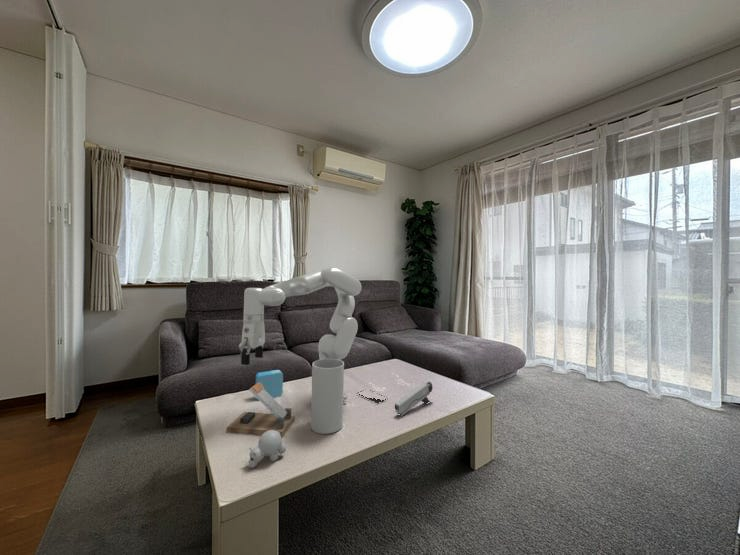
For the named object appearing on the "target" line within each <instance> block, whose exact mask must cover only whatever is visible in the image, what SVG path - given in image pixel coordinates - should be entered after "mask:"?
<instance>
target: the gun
mask: <svg viewBox="0 0 740 555" xmlns="http://www.w3.org/2000/svg"><path fill="white" fill-rule="evenodd" d="M432 391H433V384H432V382H431V381H428V382H423V383H421V384H420V385H419V386H417V387H416V388H415V389H413V390H412V391H410V392H409V393H408V394H407V395H405V396H404V397H402V398H401V399H400V400H398V401H397V402H395V403H394V410H395V412H396V413H397V415H398V414H400V415H402V416H404V415H405V414H406V413H407V412H409V411H410V410H411V409H413V408H414V407H415V406H416V405H417V404H419V403H420V402H422V403H423V402H424V403H428V402H430V403H431V401H430V400H429V398H428V396H429V395H430V393H431V392H432ZM424 403H423V404H424ZM403 414H404V415H403Z"/></svg>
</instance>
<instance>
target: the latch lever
mask: <svg viewBox="0 0 740 555" xmlns="http://www.w3.org/2000/svg"><path fill="white" fill-rule="evenodd" d="M263 388H264V386H263V385H262V384H261V383H260V382H258V383H257V384H256V383H255V384H254V385H252V387H250V388H249V390H248V391H249V392H251V394H253V396H255V398H256V397H257V398H258V399H259V400H258V399H257V398H256V399H257V400H258V401H259V402H260V403H261V404H263V405H264V406H265V407H266V408H267V409H268V410H269V411H270V412H271V414H274V415H275V416H276V417H284V416H285V415H286V414H287V413H288V412H287V411H286V410H285V408H284V407H283V406H282V405H281V404H280V403H279V402H278V401H277V400H276V398H275V397H274V398H275V399H274V398H273V397H272V396H271V395H269V394H268V393H267V392H266V391H265V390H264V389H263Z"/></svg>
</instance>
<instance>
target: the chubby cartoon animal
mask: <svg viewBox="0 0 740 555" xmlns="http://www.w3.org/2000/svg"><path fill="white" fill-rule="evenodd" d="M282 439H283V437H281V435H280V432H277V431H275V430H269V431H266V432H265V433H263V434H262V435H260V437H259V438H258V444H257V446H255V447H253V448H252V447H249V448H248V449H249V450H250V451H249V452H250V453H249V459H248V460H245V464H246V465H247V467H249V469H255V468H256V467H257V465H258V463H259V462H260V461H261V460H262V459H263V457H264V456H265V457H266V458H269V460H270V462H271V463H272V462H276V461H277V460H278V459H279V454H280V455H282V454H284V453H285V452H286V450H287V446H286V445H285V444H284V443H283V440H282Z"/></svg>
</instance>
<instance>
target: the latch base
mask: <svg viewBox="0 0 740 555" xmlns="http://www.w3.org/2000/svg"><path fill="white" fill-rule="evenodd" d="M284 409H285V410H286V411H287V412H288V413H287V414H286V415H285V416H284V417H276V416H275V415H274V414H273V413H264V412H263V413H262V412H256V411H255V412H253V411H244V412H242V413H241V414H240V415H239V416H238V417H236V418H235V419H234V420H233V421H232V422H230V423H229V424H227V426H226V428H225V429H226V433H229V432H230V433H232V434H240V433H241V434H243V435H251V434H252V435H254V436H262V434H263V433H265V432H266V431H269V430H275V431H277V432H280V435H281V438H283V437H284V436H285V434H286V433H287V432H288V431H289V429H290V428H291V427H292V425H293V424H294V423H295V421H296V416H295V415H292V410H293V409H292V408H288V407H285V408H284ZM241 434H240V435H241Z"/></svg>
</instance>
